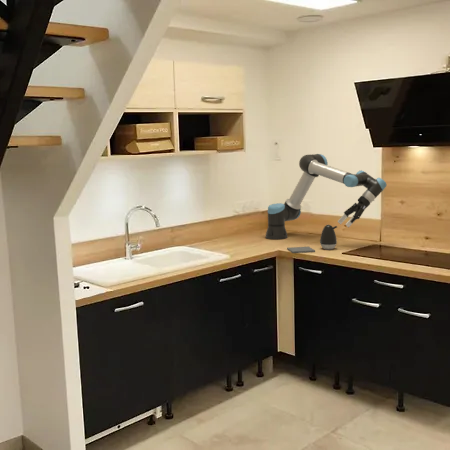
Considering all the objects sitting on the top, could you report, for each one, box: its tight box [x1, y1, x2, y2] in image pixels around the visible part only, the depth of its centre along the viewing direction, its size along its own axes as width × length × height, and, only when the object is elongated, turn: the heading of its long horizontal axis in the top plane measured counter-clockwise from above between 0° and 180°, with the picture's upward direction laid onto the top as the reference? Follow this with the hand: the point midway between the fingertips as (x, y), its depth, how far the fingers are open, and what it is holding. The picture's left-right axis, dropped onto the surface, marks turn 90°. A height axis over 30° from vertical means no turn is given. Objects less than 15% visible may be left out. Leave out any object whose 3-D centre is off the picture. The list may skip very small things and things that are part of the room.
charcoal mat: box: [286, 246, 316, 254], centre depth 356 cm, size 13×14×1 cm
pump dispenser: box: [319, 224, 338, 251], centre depth 358 cm, size 10×10×15 cm
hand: (342, 224), depth 358 cm, fingers open, 13 cm apart
